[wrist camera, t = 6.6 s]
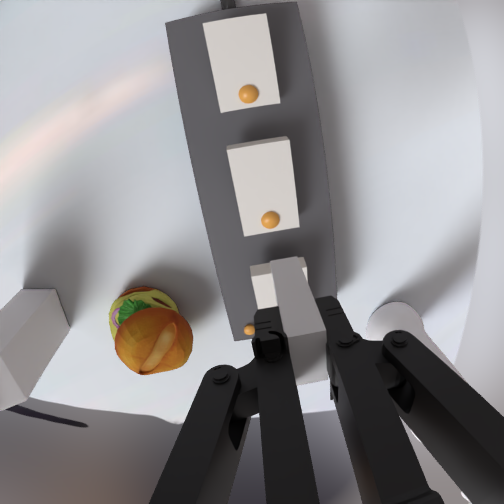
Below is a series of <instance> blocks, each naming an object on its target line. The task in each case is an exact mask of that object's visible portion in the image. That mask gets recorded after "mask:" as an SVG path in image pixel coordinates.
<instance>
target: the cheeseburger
mask: <svg viewBox="0 0 504 504" xmlns="http://www.w3.org/2000/svg"><path fill="white" fill-rule="evenodd" d="M109 325H110V329H111V334H112V337H113V339H114V341H115V350H116V353H117V355H118V357H119V358H120V359H121V361H122V362H123V363H124V364H125V365H126V366H127V367H128V368H129V369H131V370H133V371H134V372H136V373H138V374H140V375H149V374H154V373H159V372H165V371H170V370H174V369H177V368H179V367H181V366H183V365H184V364H185V363H186V362H187V360H188V358H189V356H190V354H191V352H192V344H193V334H192V330H191V328H190V325H189V323H188V322H187V321H186V320H185V319H184V318H183V317H182V316H181V315H180V314H179V311H178V308H177V306H176V304H175V303H174V302H173V301H172V299H171V298H170V297H169V296H168V295H166V294H165V293H163V292H161V291H159V290H158V289H154V288H149V287H144V286H143V287H138V288H133V289H130V290H128V291H126V292H125V293H123V294H122V295H120V296H119V297H118V299H117V300H115V301H114V303H113V304H112V306H111V309H110V312H109Z"/></svg>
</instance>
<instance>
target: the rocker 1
mask: <svg viewBox="0 0 504 504" xmlns="http://www.w3.org/2000/svg"><path fill="white" fill-rule="evenodd" d="M203 28H204V33H205V38H206V43H207V48H208V53H209V58H210V63H211V68H212V73H213V77H214V82H215V87H216V92H217V97H218V102H219V107H220V112H221V113H223V112H228V111H234V110H239V109H245V108H251V107H257V106H264V105H271V104H278V103H280V96H279V89H278V83H277V76H276V69H275V63H274V57H273V51H272V44H271V38H270V33H269V27H268V21H267V15H266V13H265V14H257V15H249V16H242V17H235V18H229V19H223V20H217V21H212V22H207V23H203Z"/></svg>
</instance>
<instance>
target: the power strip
mask: <svg viewBox="0 0 504 504" xmlns="http://www.w3.org/2000/svg"><path fill="white" fill-rule="evenodd" d="M221 5H222V10H220V11H215V12H210V13H205V14H200V15H195V16H191V17H187V18H182V19H178V20H174V21H171V22H167V23H165V25H166V31H167V37H168V43H169V49H170V55H171V60H172V66H173V72H174V77H175V83H176V88H177V93H178V99H179V104H180V109H181V114H182V119H183V124H184V129H185V134H186V139H187V144H188V149H189V154H190V158H191V163H192V168H193V172H194V177H195V182H196V186H197V191H198V195H199V200H200V204H201V208H202V213H203V217H204V222H205V226H206V230H207V234H208V239H209V243H210V247H211V251H212V255H213V259H214V264H215V268H216V272H217V276H218V280H219V284H220V288H221V292H222V296H223V299H224V303H225V307H226V311H227V315H228V319H229V323H230V326H231V330H232V334H233V338H234V341H240V340H247V339H252V338H253V337H254V336H255V328H254V315H255V313H256V311H257V310H258V306H257V302H256V297H255V292H254V288H253V283H252V279H251V271H250V266H253V265H259V264H265V263H270V261H273V260H278V259H284V258H290V257H295V256H297V257H298V258H299V257H304V260H305V263H306V266H307V279H308V285H309V287H310V290H311V292H312V295H313V297H314V299H315V298H320V297H325V296H330V295H331V296H333V297H334V298H336V299H337V286H336V268H335V252H334V238H333V226H332V215H331V204H330V194H329V185H328V176H327V168H326V160H325V152H324V145H323V137H322V130H321V124H320V117H319V111H318V104H317V98H316V93H315V87H314V81H313V76H312V70H311V65H310V60H309V55H308V50H307V45H306V40H305V36H304V31H303V27H302V22H301V18H300V14H299V9H298V5H297V2H285V3H272V4H262V5H254V6H246V7H239V8H236V5H235V1H234V0H221ZM265 13H266V15H267V21H268V27H269V33H270V38H271V44H272V51H273V57H274V63H275V69H276V76H277V83H278V89H279V96H280V103H278V104H271V105H264V106H257V107H251V108H245V109H239V110H234V111H228V112H223V113H221V112H220V107H219V102H218V97H217V92H216V87H215V82H214V77H213V73H212V68H211V63H210V58H209V53H208V48H207V43H206V38H205V33H204V28H203V23H207V22H212V21H217V20H223V19H229V18H235V17H242V16H249V15H257V14H265ZM283 136H287V137H288V139H289V140H290V148H291V156H292V164H293V172H294V180H295V189H296V198H297V207H298V216H299V226H300V227H297V228H291V229H285V230H279V231H274V232H268V233H262V234H256V235H250V236H245V237H244V233H243V228H242V223H241V218H240V213H239V208H238V203H237V199H236V194H235V189H234V184H233V179H232V174H231V169H230V164H229V159H228V154H227V146H229V145H234V144H239V143H245V142H251V141H257V140H263V139H269V138H276V137H283Z"/></svg>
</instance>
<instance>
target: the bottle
mask: <svg viewBox="0 0 504 504" xmlns="http://www.w3.org/2000/svg"><path fill="white" fill-rule="evenodd" d="M394 330H404V331H408V332H409V333H411V334H412V335H414V336H415V337H416V338H417V339H418V340H419V341H421V342H422V343H423V344H424V345H425V346H426V347H427V348H429V349H430V350H431V351H432V352H433V353H434V354H435V355H437V356H438V357H439V358H440V359H441V360H442V361H443V362H444V363H446V364H447V365H448V366H449V367H450V368H451V369H452V370H453V371H454V372H456V373H457V374H458V375H459V376H460V377H461V378H462V379H463V380H464V381H465V382H466V380H465V379H464V378H463V377H462V376H461V374H460V373H459V372H458V371H457V369H456V368H455V367H454V366H453V364H452V363H451V362H450V361H449V360H448V358H447V357H446V356H445V355H444V354H443V352H442V351H441V350H440V349H439V348H438V347H437V345H436V344H435V343H434V342H433V341H432V340H431V338H430V337H429V336H428V335H427V333H426V332H425V330H424V325H423V322H422V319H421V318H420V316H419V315H418V313H417V312H416V311H415V310H414V309H413V308H412V307H410V306H409V305H408V304H406V303H403V302H391V303H387V304H385V305H383V306H381V307H380V308H379V309H377V310H376V311H375V312H374V313H373V314H372V315H371V317H370V319H369V321H368V323H367V327H366V337H367V340H372V341H381V340H383V338H384V336H385V335H386V334H387V333H389V332H391V331H394ZM410 430H411V429H410ZM411 432H412V433H413V431H412V430H411ZM413 435H414V436H415V437H416V439H418V437H417V436H416V435H415V434H414V433H413ZM418 440H419V439H418ZM419 441H420V440H419ZM420 442H421V441H420ZM421 443H422V442H421ZM422 444H423V443H422ZM461 494H462V496H463V497H464V498H465V499H467V500H468V501H469V499H468V498H467V497H466V496H465V494H464V493H463V492H462V491H461ZM469 504H472V503H471V502H470V501H469Z"/></svg>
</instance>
